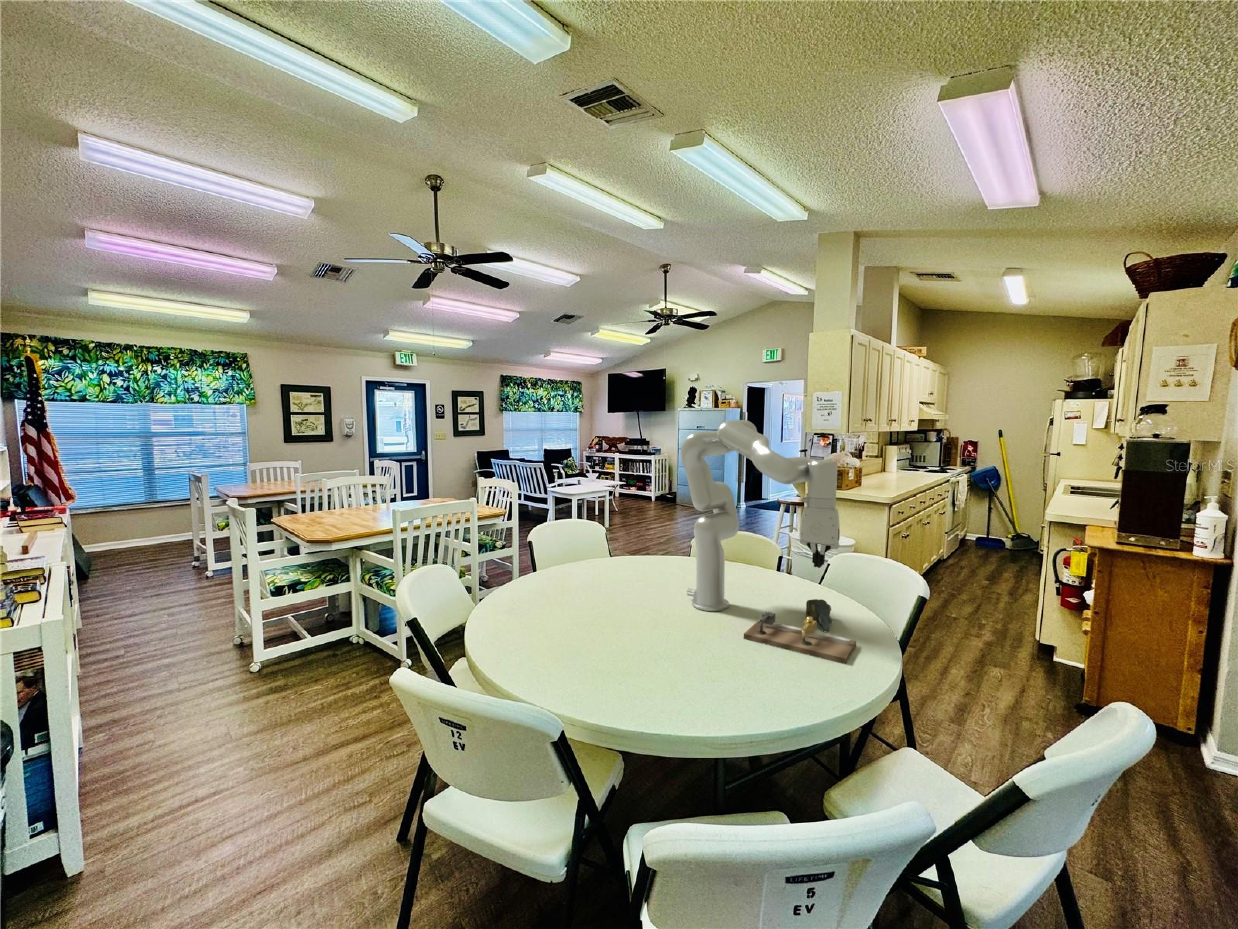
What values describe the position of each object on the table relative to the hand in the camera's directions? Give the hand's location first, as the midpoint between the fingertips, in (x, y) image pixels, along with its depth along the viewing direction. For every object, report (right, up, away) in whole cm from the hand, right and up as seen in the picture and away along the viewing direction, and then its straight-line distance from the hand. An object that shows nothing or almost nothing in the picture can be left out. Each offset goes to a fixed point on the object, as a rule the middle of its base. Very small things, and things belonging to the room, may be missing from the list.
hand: (818, 566), depth 147 cm
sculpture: (+6, -21, +14) cm, 26 cm away
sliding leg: (-3, -20, -1) cm, 20 cm away
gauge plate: (-5, -22, 0) cm, 23 cm away
